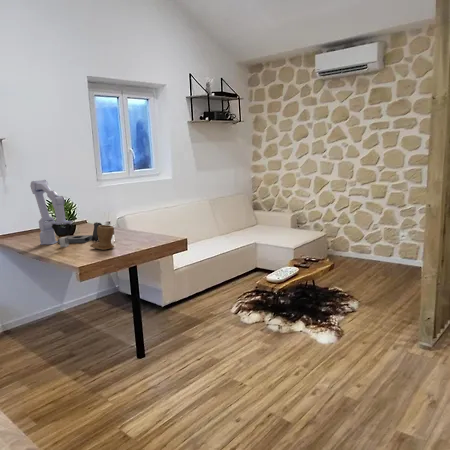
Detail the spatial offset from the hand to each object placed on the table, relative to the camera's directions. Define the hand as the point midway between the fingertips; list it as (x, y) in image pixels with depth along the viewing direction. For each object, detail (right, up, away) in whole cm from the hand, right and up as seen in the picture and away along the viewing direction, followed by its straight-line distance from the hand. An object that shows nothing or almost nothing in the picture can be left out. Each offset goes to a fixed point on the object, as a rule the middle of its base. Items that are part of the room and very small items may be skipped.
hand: (63, 235), depth 271 cm
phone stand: (+19, -4, +16) cm, 25 cm away
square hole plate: (+3, -5, +15) cm, 16 cm away
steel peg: (0, -8, +1) cm, 8 cm away
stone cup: (+31, -8, -13) cm, 35 cm away
